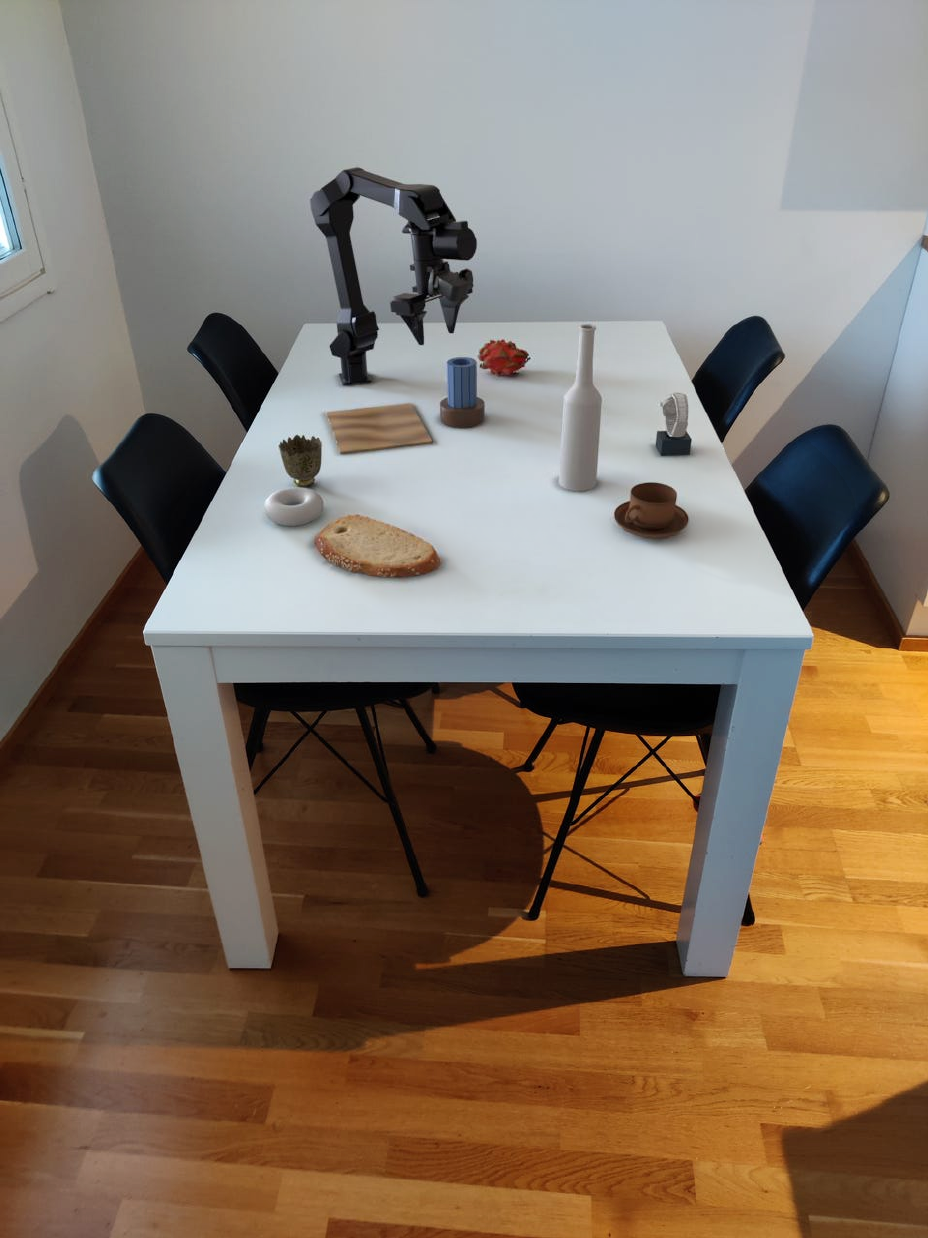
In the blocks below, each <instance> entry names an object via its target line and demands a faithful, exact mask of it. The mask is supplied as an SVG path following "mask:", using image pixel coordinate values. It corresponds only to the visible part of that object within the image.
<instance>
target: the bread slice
mask: <svg viewBox="0 0 928 1238" xmlns="http://www.w3.org/2000/svg"><path fill="white" fill-rule="evenodd" d="M313 544H314V546H315V548H316V551H317V552H318V553H319V555H321V557H323V559H324V560H326V561H327V562H329V563H330V564H334V565H335V566H337V567H339V568H341V569H344V570H346V571H349V572H350V573H352V572H353V573H362V574H365V575H367V576H370V577H377V578H395V579H401V578H411V577H417V576H421V575H425V574H428V573H431V572H433V571H434V570H438V569H439V567H440V566H441V563H442V561H441V558H440V557H439V555H438V553H437V551H436V549H435V547H434V546H433V545H432V544H430V543H429V542H428V541H426V540H424V539H423V538H422V537H420V536H416V535H414V534H413V533H411V532H409V531H407V530H404V529H402V528H399V527H397V526H394V525H391V524H389V523H386V522H383V521H381V520H377V519H375V518H371V517H369V516H365V515H360V514H358V513H356V514H353V515H352V514H348V515H345V516H342V517H339V518H338V519H335V520H333V521H332V522H330V523H328V524H327V525H326V526H325V527H324V528H322V529H321V530H320V531H319V533H318V534H317V535H315V538H314V539H313Z"/></svg>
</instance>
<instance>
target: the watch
mask: <svg viewBox="0 0 928 1238" xmlns="http://www.w3.org/2000/svg"><path fill="white" fill-rule="evenodd" d="M658 406H659V407H661V411H662V415H663V417H664V423H665V429H666V430H656V438H655V448H656V450H657V452H658V454H659V455H660V457H669V456H690V455H691V448H692V441H693V439H692V437H691V436H690V434H689V433H688V431H687V430H688V426H689V421H688V420H689V401H688V396H687V394H686V393H683V392H672V393H669V394H667V395H665V396H664V397H663V398H662V399H661V400H660V401H659V403H658Z"/></svg>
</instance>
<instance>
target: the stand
mask: <svg viewBox="0 0 928 1238" xmlns="http://www.w3.org/2000/svg"><path fill="white" fill-rule="evenodd" d="M485 405H486V403H485V401H484V399H482V398H480V397H478V396H477V404H476V405H475V406H473V407H471V408H470V407H469V408H464V409H463V408H462V409H460V408H454V407H451V406H449V405H448V397H447V396H446V397H445V398H443V399H442V400H440V403H439V413H440V414H439V415H440V420H439V421H440V422H441V423H442V424H443V425H444V426H447V427H449V428H454V429H469V428H474V427H477V426H480V425H482V424H483V423H485V420H486V419H485V417H486V416H485V415H486V413H485V412H486V411H485V410H486V409H485Z"/></svg>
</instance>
